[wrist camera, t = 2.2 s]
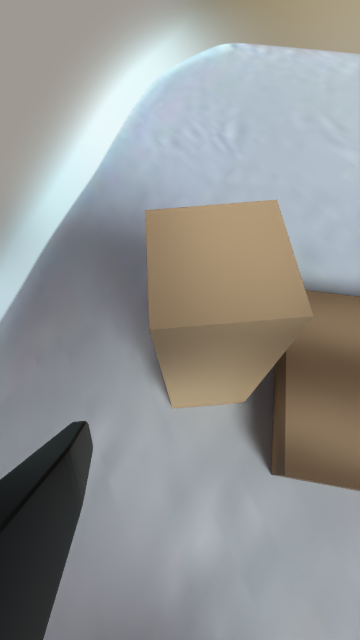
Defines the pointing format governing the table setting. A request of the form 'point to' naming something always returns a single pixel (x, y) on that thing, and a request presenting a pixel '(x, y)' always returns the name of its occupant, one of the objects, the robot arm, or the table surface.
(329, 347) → the walnut podium
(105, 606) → the table surface
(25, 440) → the table surface
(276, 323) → the kraft carton
